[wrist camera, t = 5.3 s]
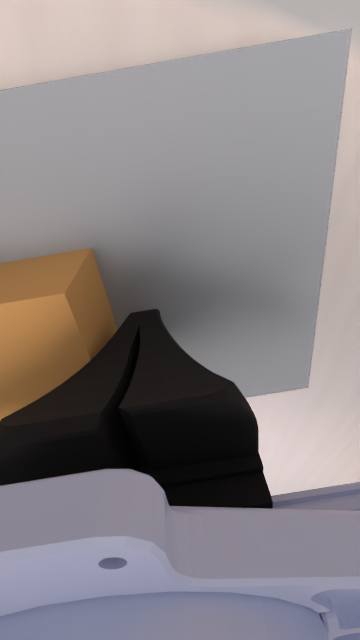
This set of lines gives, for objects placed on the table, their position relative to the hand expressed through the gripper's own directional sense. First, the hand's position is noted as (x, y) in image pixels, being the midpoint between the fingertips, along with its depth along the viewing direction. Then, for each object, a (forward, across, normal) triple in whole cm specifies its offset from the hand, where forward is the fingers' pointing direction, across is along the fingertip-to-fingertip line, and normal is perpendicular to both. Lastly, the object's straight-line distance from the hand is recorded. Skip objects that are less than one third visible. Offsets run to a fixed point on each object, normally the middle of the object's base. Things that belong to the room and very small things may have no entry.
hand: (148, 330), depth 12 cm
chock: (+1, +4, 0) cm, 4 cm away
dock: (+5, +8, -1) cm, 9 cm away
